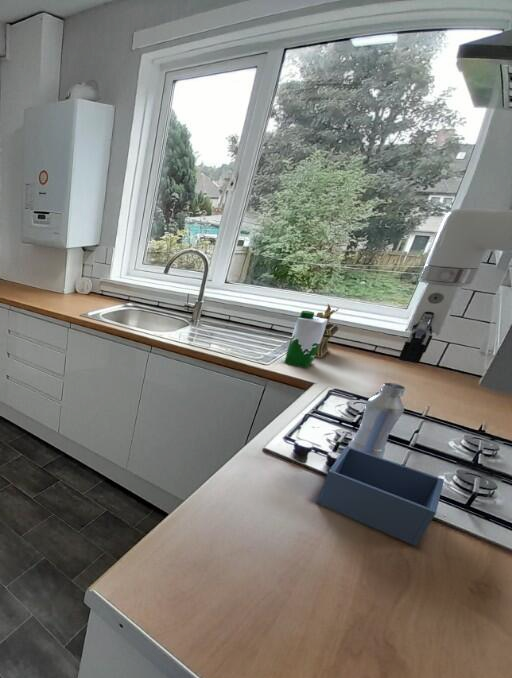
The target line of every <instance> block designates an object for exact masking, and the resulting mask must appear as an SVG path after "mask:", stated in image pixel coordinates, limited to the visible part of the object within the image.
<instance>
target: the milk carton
mask: <svg viewBox="0 0 512 678" xmlns="http://www.w3.org/2000/svg"><path fill="white" fill-rule="evenodd" d="M314 315H315V312H313V311H309V310H302V311H301V312H300V314H299V316H298V318H297V320H296V321H295V322H296V323H295V326H294V328H293V331H292V335H291V338H290V341H289V344H288V347H287V350H286V355H285V360H284V363H285V364H289V365H292V366H297V367H300V368H304V369H306V368H308V367H309V366H310V365H311V364H312V362H313V360H314V359H315V358H316V357H315V355H316V353H317V351H318V348H319V345H320V342H321V340H322V337H323V334H324V331H325V327H326V324H327V320H328V319H323V318H319V317H316V316H314Z"/></svg>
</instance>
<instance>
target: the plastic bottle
mask: <svg viewBox="0 0 512 678" xmlns="http://www.w3.org/2000/svg"><path fill="white" fill-rule="evenodd" d="M405 392H406V387H405V386H403V385H401V384H398V383H395V382H383V384H382V386H381V387H380V389H379V393H377V394H375V395H373V396H372V397H370V398H368V400H367V401H366V402H365V405H364V410H363V415H362V418H361V421H360V425H359V427H358V429H357V431H356V433H355V435H354V436H353V438H352V439H351V440H350V441H349V443H348V444H347V446H348V447H351V448H354V449H357V450H360V451H363V452H366V453H369V454H372V455H375V456H377V457H380V458H383V459H384V454H385V450H386V445H387V442H388V439H389V435H391V432H392V430H393V428H394V427H395V425H396V424H397V423H398V421H399V420H400V418H401V417H402V415H403V414H404V412H405V406H404V403H403V401H402V399H401V397H403V396H404V393H405Z"/></svg>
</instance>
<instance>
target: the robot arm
mask: <svg viewBox="0 0 512 678" xmlns="http://www.w3.org/2000/svg"><path fill="white" fill-rule="evenodd" d="M437 231H438V232H437V234H436V236H435V238H434V241H433V243H432V246H431V249H430V251H429V253H428V256H427V258H426V261H425V263H424V265H423V268H422V270H421V273H420V275H419V278H418V282H420V283H424V285H423V288H422V290H421V293H420V295H419V298H418V299H417V300H418V301H417V303H416V305H415V308H414V310H413V314H412V317H411V320H410V323H409V327H408V330H409V331H410V334H409V335H408V338H407V340H406V341H405V342H404V345H403V346H402V350H401V351H400V354H399V356H398V360H399V361H403V362H408V363H412V364H419V363H420V362H421V359H422V358H423V356H424V354H425V353H426V352H427V350H428V348H429V345H430V343H431V342H432V338H433V334H435V336H439V335H441V334H442V333H443V331H444V329H445V327H446V325H447V323H448V321H449V319H450V316H451V315H452V313H453V311H454V308H455V305H456V303H457V302H458V299H459V296H460V294H461V291H462V288H463V287H468V286H469V287H471V286H472V284H473V282H474V280H475V277H476V275H477V273H478V271H479V269H480V267H481V264H482V263H483V260H484V258H485V256H486V254H487V251H488V250H493V251H499V252H504V253H505V252H507V253H511V254H512V209H506V210H505V209H504V210H499V209H497V208H496V209H495V208H455V209H452V210H450V211H448V212H447V213H446V214H445V215H444V217H443V219H442V221H441V223H440V226H439V229H438V230H437Z"/></svg>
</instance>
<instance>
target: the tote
mask: <svg viewBox="0 0 512 678" xmlns="http://www.w3.org/2000/svg"><path fill="white" fill-rule="evenodd" d="M444 483H445V478H441V477H439V476H435V475H433V474H430V473H427V472H424V471H421V470H418V469H415V468H412V467H409V466H407V465H404V464H400V463H398V462H395V461H391V460H389V459H386V458H384V457H383V458H380V457H377V456H375V455H372V454H369V453H366V452H363V451H360V450H357V449H354V448H351V447H348V445H346V446H345V447H344V449H343V450H342V452H341V453H340V455H339V456H338V457H337V459H336V460H335V462H333V464H332V466H331V467H330V468H329V471H328V473H327V474H326V476H325V479H324V482H323V484H322V486H321V489H320V491H319V493H318V496H317V498H316V500H315V503H316V504H318V505H321V506H323V507H325V508H328V509H330V510H332V511H334V512H336V513H339V514H340V515H343V516H345V517H348V518H350V519H353V520H354V521H357V522H359V523H361V524H364V525H366V526H368V527H371V528H373V529H375V530H377V531H380V532H382V533H384V534H386V535H389V536H391V537H393V538H395V539H398V540H400V541H402V542H405V543H407V544H409V545H411V546H414V547H417V546H418V544H419V542H420V541H421V539H422V538H423V536H424V534H425V533H426V531H427V529H428V527H429V526H430V524H431V522H432V520H433V519H434V517H435V516H436V514H437V511H438V506H439V501H440V498H441V495H442V490H443V486H444Z"/></svg>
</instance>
